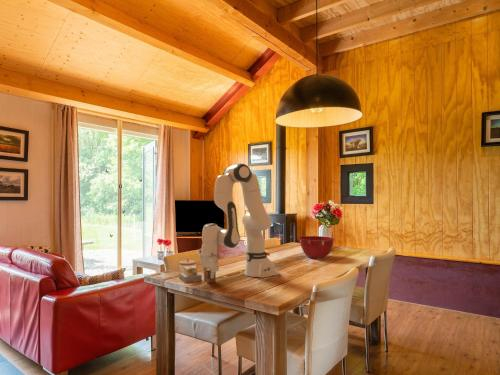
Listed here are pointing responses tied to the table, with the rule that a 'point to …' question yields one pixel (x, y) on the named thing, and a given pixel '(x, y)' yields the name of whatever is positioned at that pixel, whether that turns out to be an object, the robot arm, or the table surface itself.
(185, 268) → the oak block
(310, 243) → the mixing bowl
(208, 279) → the walnut block
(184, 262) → the lidded jar
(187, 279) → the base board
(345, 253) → the table surface
